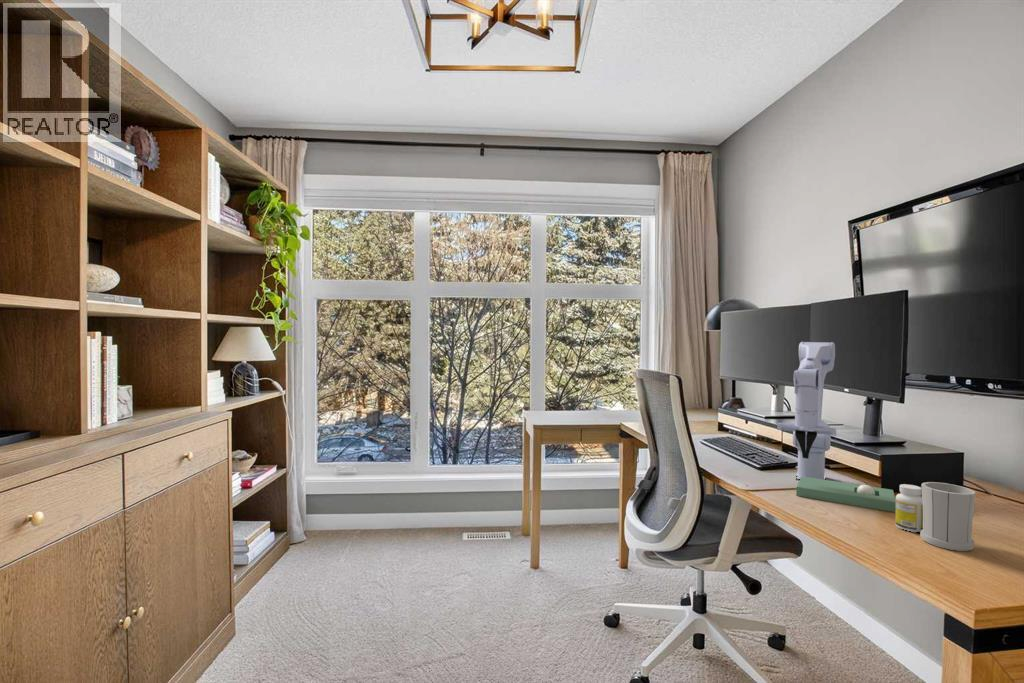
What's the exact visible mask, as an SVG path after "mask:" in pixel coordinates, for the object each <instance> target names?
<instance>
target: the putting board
mask: <svg viewBox="0 0 1024 683" xmlns="http://www.w3.org/2000/svg"><path fill="white" fill-rule="evenodd" d="M860 485H861V484H855V483H849V482H842V481H835V480H829V479H826V480H823V479H816V478H810V477H803V476H801V477H800V480H799V479H798V482H797V485H796V489H795V490H796V493H795V494H796V496H797V497H802V498H807V499H808V498H809V499H814V500H820V501H825V502H826V501H827V502H832V503H839V504H843V505H844V504H845V505H852V506H855V507H861V508H869V509H874V510H879V509H880V511H888V512H891V511H893V512H892V513H896V495H895V493H894V489H889V488H882V487H875V486H871V487H872V488H873V489H874V491H875V495H869V494H862V493H857V488H858V487H859V486H860Z"/></svg>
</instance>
